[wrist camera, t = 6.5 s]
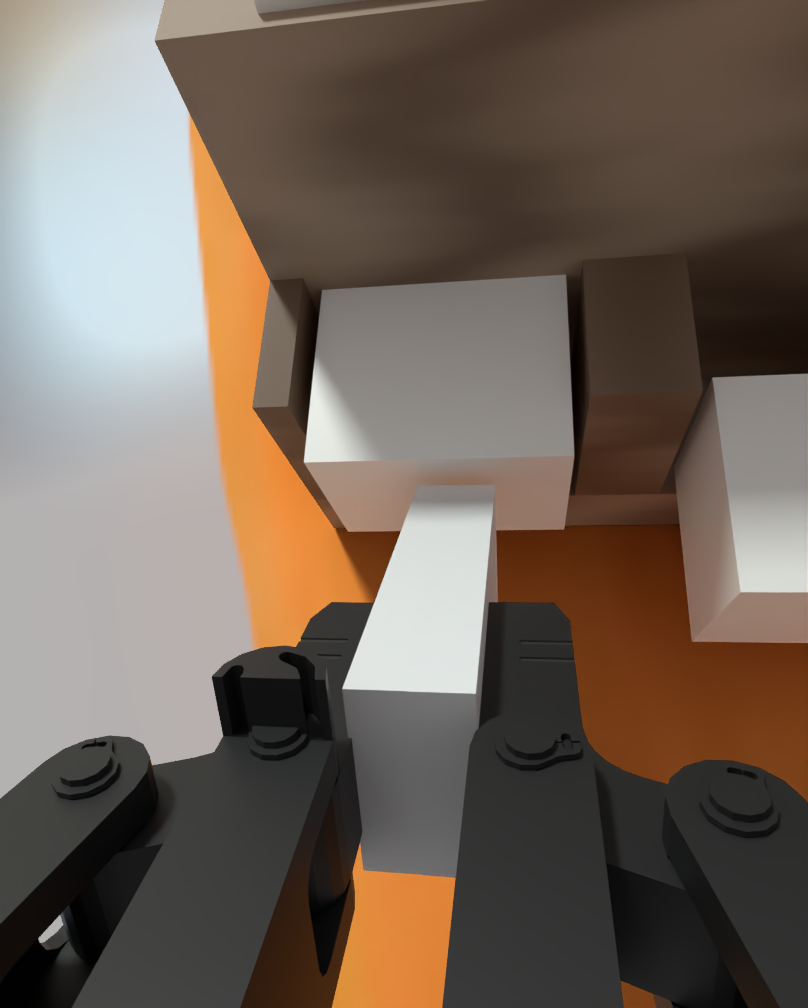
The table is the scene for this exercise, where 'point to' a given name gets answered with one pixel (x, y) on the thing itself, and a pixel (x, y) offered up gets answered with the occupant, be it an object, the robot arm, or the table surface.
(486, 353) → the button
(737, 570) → the middle button
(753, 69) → the console
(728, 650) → the table surface
